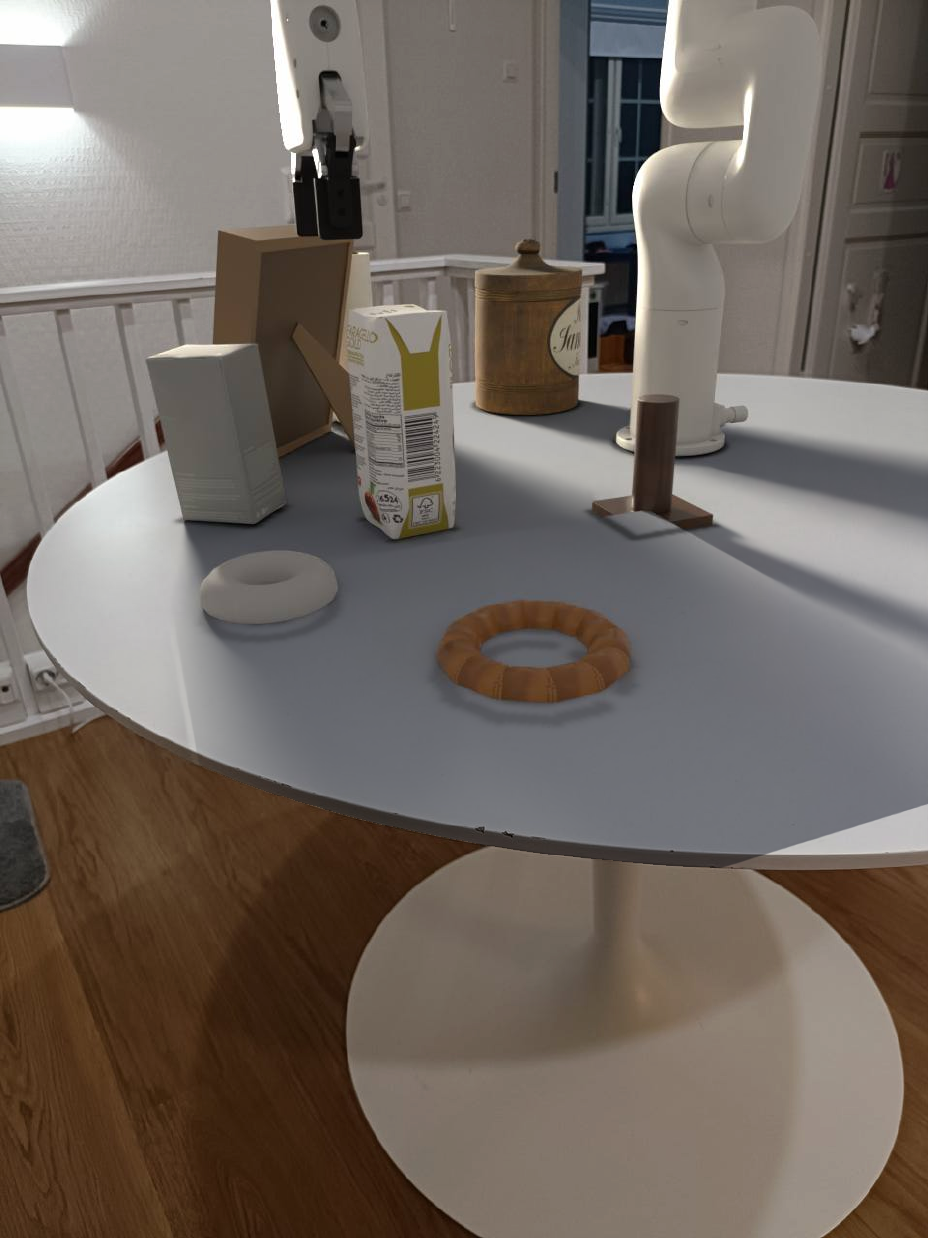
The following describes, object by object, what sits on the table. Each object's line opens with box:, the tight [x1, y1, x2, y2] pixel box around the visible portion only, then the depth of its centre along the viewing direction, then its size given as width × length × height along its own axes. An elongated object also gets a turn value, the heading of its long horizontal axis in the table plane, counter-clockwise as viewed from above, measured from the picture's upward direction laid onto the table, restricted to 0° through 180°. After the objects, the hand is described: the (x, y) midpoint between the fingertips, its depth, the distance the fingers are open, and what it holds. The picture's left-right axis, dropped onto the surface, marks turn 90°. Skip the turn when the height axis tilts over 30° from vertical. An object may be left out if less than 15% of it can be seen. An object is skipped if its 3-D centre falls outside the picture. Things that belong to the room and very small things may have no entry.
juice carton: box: [347, 303, 457, 540], centre depth 78 cm, size 8×9×19 cm
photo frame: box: [212, 224, 355, 459], centre depth 100 cm, size 15×22×25 cm
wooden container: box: [474, 238, 583, 416], centre depth 122 cm, size 15×15×22 cm
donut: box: [199, 550, 339, 625], centre depth 65 cm, size 10×4×10 cm
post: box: [591, 394, 714, 530], centre depth 79 cm, size 8×8×11 cm
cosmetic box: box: [145, 344, 287, 525], centre depth 82 cm, size 8×7×16 cm
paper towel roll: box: [333, 250, 374, 423], centre depth 116 cm, size 7×6×21 cm
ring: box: [436, 599, 631, 704], centre depth 56 cm, size 12×12×3 cm
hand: (327, 237), depth 68 cm, fingers open, 9 cm apart
